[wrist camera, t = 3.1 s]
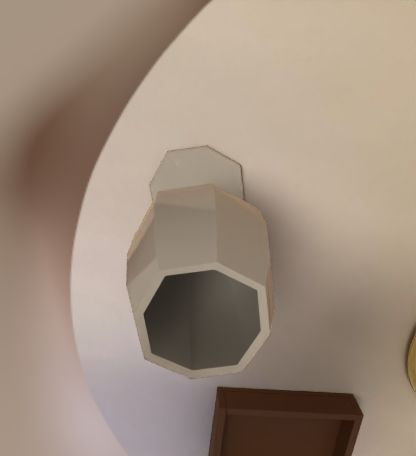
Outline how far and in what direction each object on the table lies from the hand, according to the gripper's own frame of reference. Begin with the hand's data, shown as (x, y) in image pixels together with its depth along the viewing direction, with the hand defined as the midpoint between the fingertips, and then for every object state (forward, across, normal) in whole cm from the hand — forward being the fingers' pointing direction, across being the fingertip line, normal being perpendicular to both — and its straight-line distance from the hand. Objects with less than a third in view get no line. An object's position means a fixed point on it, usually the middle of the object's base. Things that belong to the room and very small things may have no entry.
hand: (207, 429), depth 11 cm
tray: (+27, +12, -29) cm, 41 cm away
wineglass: (+27, 0, 0) cm, 27 cm away
